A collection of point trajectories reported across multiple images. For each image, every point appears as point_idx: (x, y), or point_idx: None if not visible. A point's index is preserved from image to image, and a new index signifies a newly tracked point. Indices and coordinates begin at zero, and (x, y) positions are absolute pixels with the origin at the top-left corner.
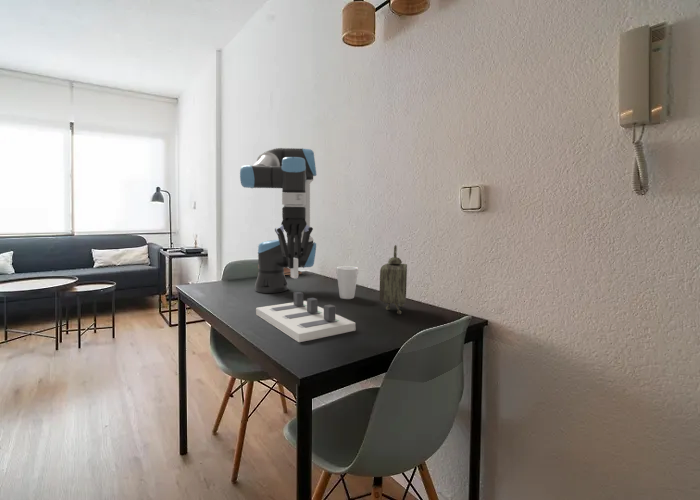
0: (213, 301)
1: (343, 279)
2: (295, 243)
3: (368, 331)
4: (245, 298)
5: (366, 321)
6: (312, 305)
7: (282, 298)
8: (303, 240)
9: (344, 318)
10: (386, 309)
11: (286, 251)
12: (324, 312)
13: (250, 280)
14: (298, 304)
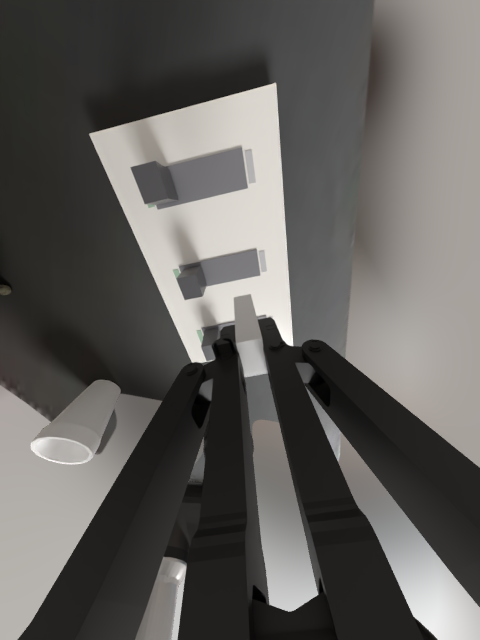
0: (323, 411)
1: (90, 416)
2: (251, 458)
3: (62, 113)
4: (277, 415)
5: (67, 215)
6: (194, 271)
7: None
8: (169, 497)
9: (120, 198)
10: (10, 288)
11: (333, 365)
12: (172, 195)
13: None
14: (215, 330)
